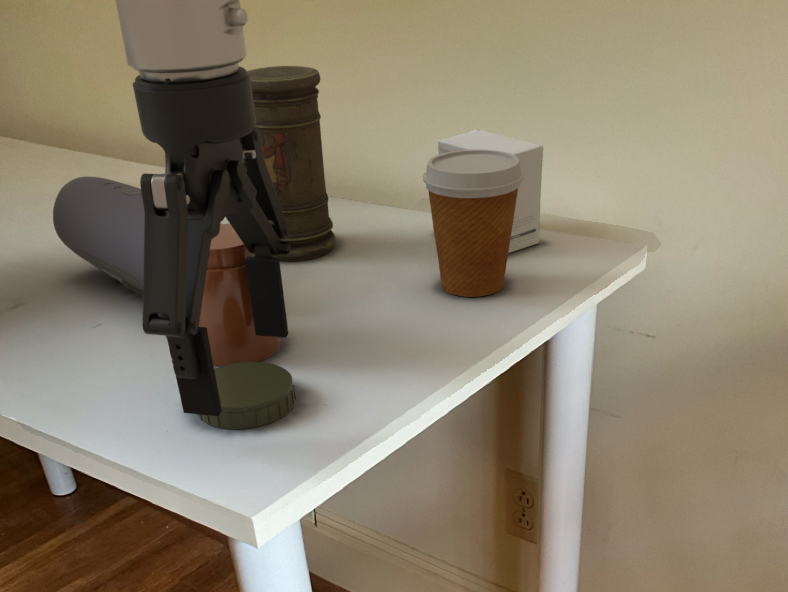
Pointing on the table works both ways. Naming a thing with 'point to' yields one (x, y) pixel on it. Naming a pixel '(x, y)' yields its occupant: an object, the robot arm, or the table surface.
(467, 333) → the table surface
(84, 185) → the bluetooth speaker
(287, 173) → the container
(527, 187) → the cosmetics box
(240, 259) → the jar
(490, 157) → the disposable coffee cup
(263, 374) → the lid
